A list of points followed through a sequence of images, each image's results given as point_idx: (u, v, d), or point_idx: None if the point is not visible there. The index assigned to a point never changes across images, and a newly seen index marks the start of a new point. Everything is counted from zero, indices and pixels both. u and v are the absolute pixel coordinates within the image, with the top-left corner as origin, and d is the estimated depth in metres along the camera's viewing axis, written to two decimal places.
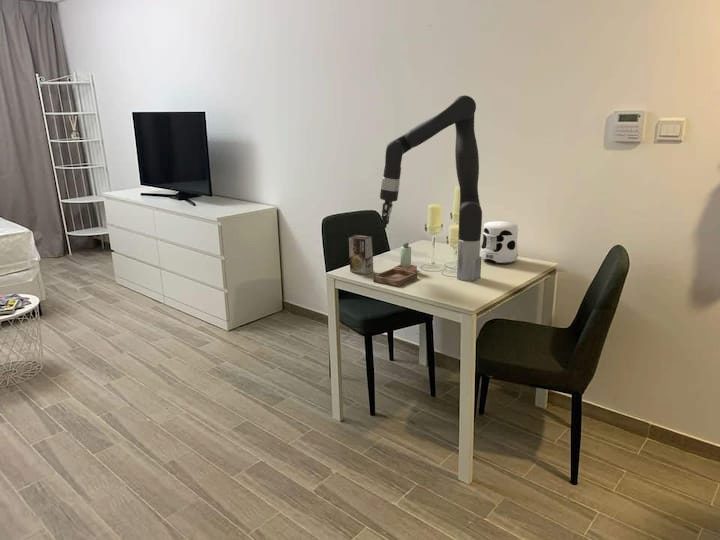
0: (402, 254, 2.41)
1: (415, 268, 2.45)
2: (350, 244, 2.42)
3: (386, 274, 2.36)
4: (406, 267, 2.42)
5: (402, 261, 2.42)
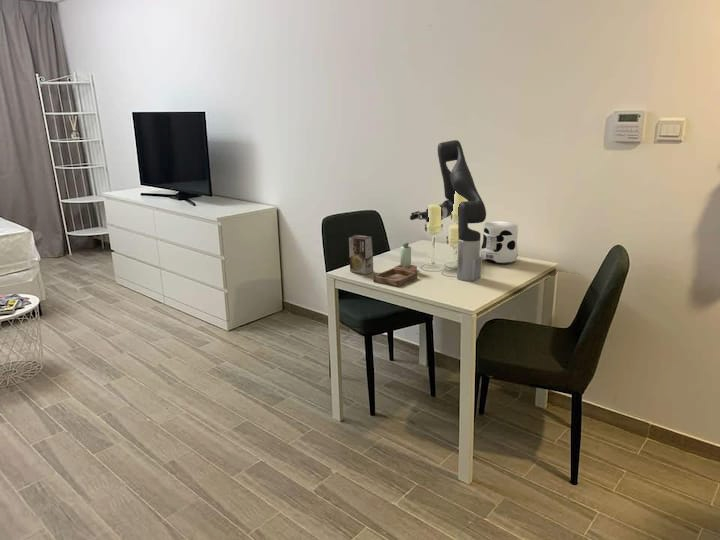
0: (402, 254, 2.41)
1: (415, 268, 2.45)
2: (350, 244, 2.42)
3: (386, 274, 2.36)
4: (406, 267, 2.42)
5: (402, 261, 2.42)
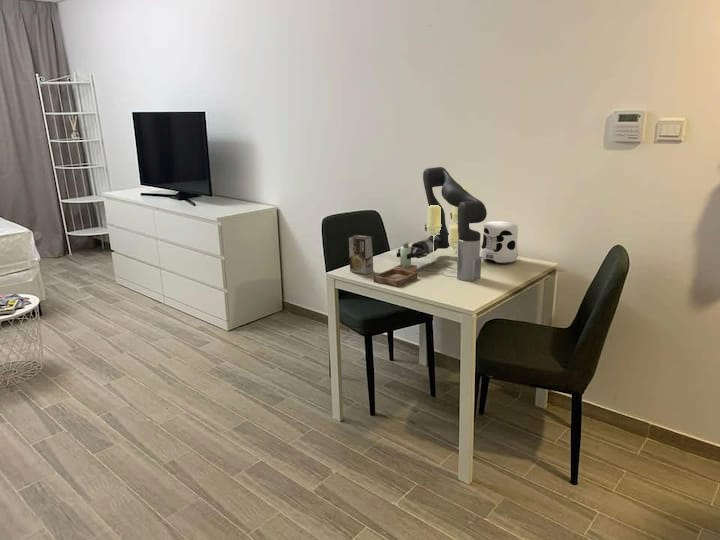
0: (402, 254, 2.41)
1: (415, 268, 2.45)
2: (350, 244, 2.42)
3: (386, 274, 2.36)
4: (406, 267, 2.42)
5: (402, 261, 2.42)
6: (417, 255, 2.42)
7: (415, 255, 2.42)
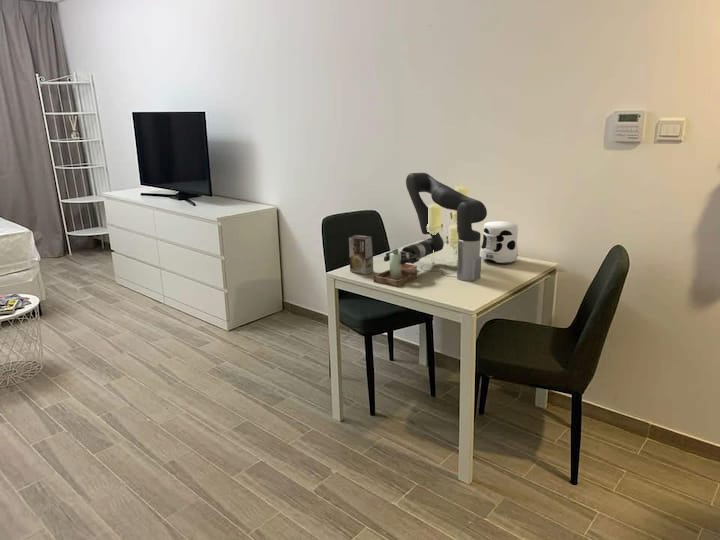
0: (391, 261, 2.28)
1: (415, 268, 2.45)
2: (350, 244, 2.42)
3: (386, 274, 2.36)
4: (396, 275, 2.29)
5: (392, 268, 2.29)
6: (411, 260, 2.28)
7: (409, 260, 2.28)
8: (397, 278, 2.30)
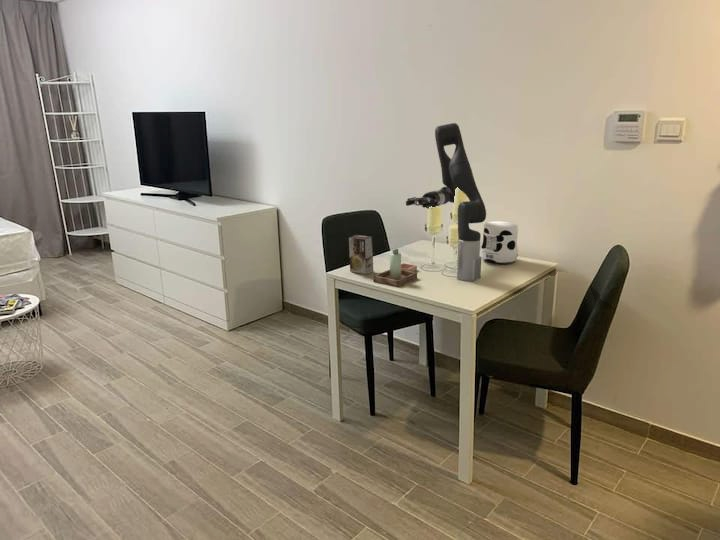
0: (391, 261, 2.28)
1: (415, 268, 2.45)
2: (350, 244, 2.42)
3: (386, 274, 2.36)
4: (396, 275, 2.29)
5: (392, 268, 2.29)
6: (433, 204, 2.38)
7: (431, 204, 2.38)
8: (397, 278, 2.30)
